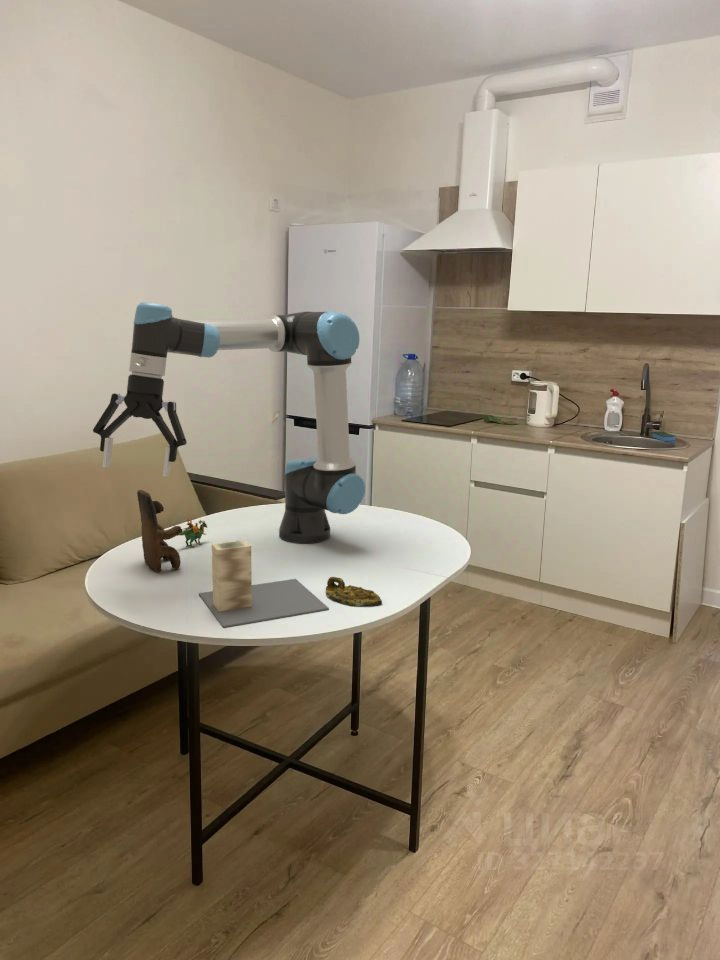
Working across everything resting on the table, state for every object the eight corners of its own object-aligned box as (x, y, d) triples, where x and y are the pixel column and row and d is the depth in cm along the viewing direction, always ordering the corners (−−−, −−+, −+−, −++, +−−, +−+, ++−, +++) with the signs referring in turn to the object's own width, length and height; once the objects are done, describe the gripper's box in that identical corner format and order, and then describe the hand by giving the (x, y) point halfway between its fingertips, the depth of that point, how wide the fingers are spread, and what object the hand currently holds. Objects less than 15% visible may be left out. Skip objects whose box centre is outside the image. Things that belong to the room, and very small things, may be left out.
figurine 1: (188, 569, 184) (180, 492, 179) (159, 577, 180) (150, 498, 175) (167, 556, 194) (159, 482, 189) (139, 563, 190) (130, 488, 185)
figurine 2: (211, 542, 207) (210, 514, 205) (177, 552, 197) (176, 523, 195) (203, 540, 208) (203, 513, 207) (170, 550, 199) (169, 521, 197)
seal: (390, 603, 170) (334, 590, 176) (392, 583, 169) (335, 571, 176) (372, 612, 161) (314, 599, 168) (374, 592, 161) (316, 579, 167)
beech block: (245, 599, 165) (244, 540, 162) (251, 606, 162) (251, 546, 158) (213, 604, 162) (211, 544, 159) (218, 611, 158) (217, 550, 155)
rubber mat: (295, 580, 179) (295, 578, 179) (328, 609, 162) (328, 608, 161) (198, 594, 168) (198, 593, 168) (223, 628, 151) (223, 626, 151)
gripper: (83, 366, 155) (73, 464, 158) (198, 383, 154) (186, 481, 157) (98, 368, 163) (88, 461, 165) (207, 384, 162) (196, 478, 164)
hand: (136, 471), depth 161 cm, fingers open, 13 cm apart
